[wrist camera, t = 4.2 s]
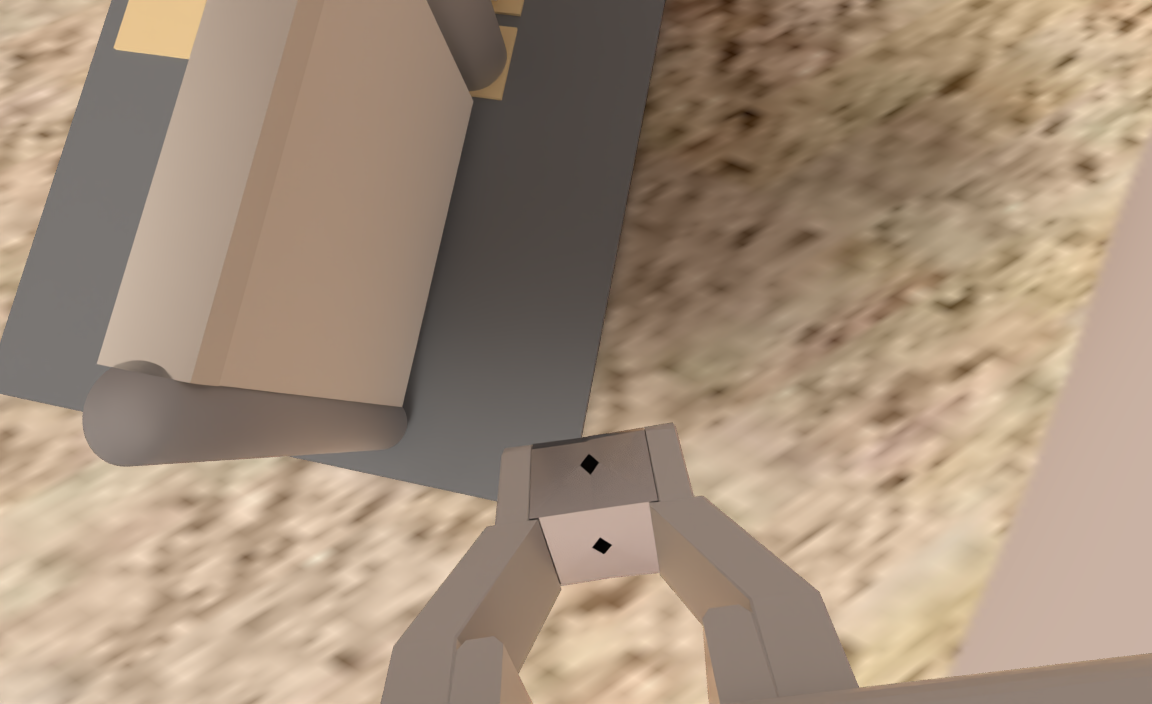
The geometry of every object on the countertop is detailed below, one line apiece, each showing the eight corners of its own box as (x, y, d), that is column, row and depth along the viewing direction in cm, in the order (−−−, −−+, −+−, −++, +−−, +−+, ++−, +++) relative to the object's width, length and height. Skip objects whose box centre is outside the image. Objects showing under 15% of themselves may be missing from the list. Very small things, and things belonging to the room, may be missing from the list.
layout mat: (-3, 391, 19) (-19, 390, 19) (197, -228, 22) (187, -243, 22) (566, 514, 17) (565, 516, 17) (702, -194, 20) (704, -210, 20)
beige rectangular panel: (350, 444, 17) (69, 454, 9) (434, 99, 19) (265, -193, 10) (400, 454, 17) (164, 476, 8) (480, 105, 18) (350, -187, 10)
